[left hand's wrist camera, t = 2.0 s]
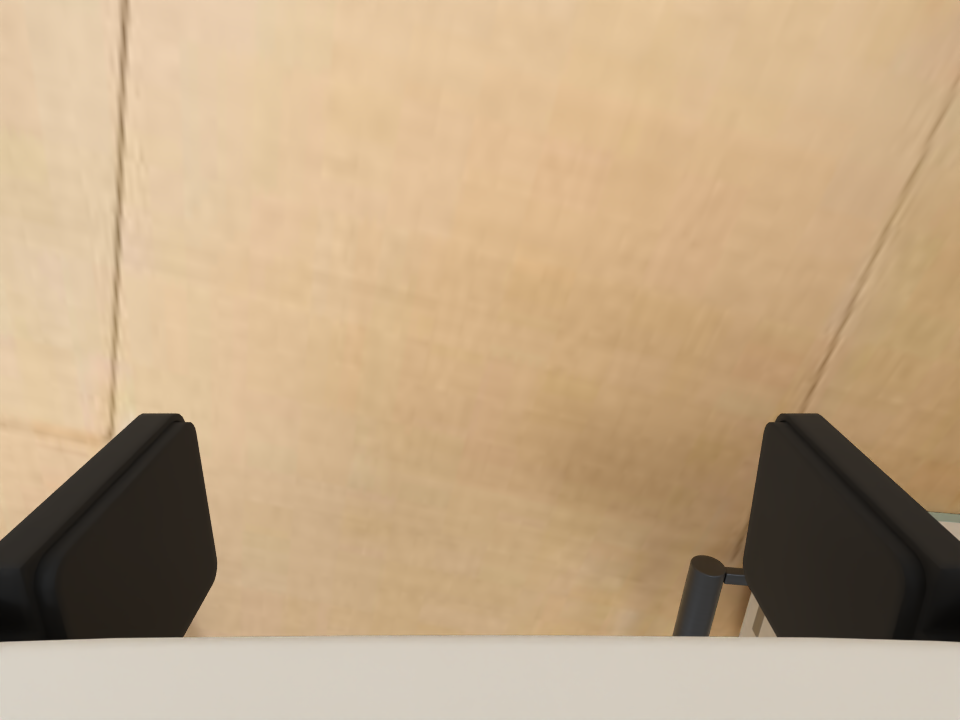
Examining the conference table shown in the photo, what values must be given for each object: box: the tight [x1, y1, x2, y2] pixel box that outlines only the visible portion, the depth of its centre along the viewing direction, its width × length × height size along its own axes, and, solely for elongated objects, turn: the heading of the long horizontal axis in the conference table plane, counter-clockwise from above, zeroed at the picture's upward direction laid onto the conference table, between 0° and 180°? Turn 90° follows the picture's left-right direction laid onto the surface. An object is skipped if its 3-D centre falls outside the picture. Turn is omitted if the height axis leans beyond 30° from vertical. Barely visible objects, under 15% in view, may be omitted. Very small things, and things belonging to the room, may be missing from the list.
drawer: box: [673, 555, 777, 637], centre depth 35 cm, size 22×9×7 cm, turn 85°
